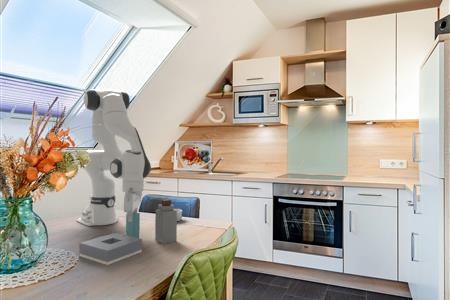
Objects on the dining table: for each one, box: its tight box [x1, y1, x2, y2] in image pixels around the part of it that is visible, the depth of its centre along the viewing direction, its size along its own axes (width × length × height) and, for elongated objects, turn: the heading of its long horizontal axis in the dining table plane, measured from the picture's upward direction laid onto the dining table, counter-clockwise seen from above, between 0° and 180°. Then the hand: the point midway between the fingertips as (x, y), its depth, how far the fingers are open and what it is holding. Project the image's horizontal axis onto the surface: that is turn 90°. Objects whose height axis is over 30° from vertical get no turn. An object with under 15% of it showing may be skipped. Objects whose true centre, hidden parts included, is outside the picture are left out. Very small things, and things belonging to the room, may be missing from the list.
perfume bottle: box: [154, 198, 178, 245], centre depth 135 cm, size 7×7×18 cm
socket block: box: [79, 232, 143, 266], centre depth 118 cm, size 16×16×5 cm
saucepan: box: [174, 208, 183, 222], centre depth 176 cm, size 12×20×6 cm, turn 7°
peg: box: [125, 212, 141, 239], centre depth 134 cm, size 4×4×12 cm
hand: (132, 219), depth 134 cm, fingers open, 8 cm apart
